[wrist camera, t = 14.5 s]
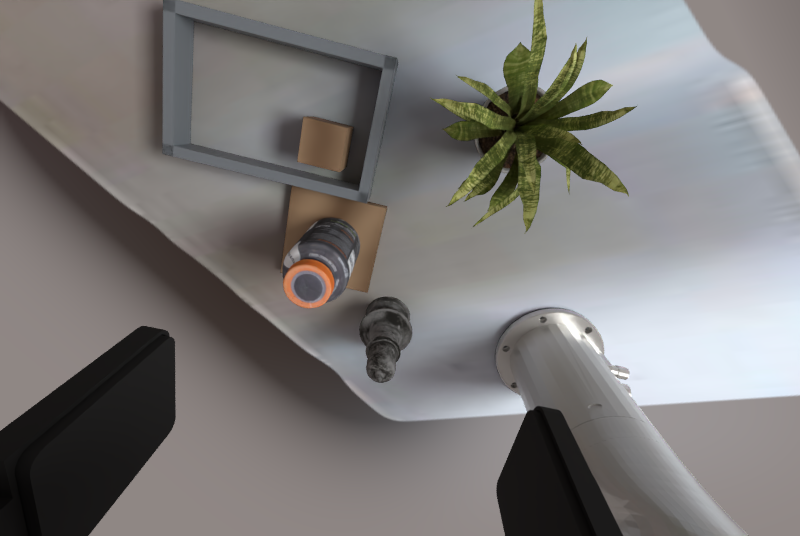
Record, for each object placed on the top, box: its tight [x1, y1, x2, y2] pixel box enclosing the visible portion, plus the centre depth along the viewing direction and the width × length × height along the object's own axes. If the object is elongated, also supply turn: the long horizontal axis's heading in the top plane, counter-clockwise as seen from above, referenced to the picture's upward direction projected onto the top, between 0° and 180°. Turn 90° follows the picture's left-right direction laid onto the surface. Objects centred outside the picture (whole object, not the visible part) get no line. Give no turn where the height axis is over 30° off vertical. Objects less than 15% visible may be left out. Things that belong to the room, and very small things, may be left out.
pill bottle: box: [282, 218, 360, 308], centre depth 36 cm, size 6×6×11 cm
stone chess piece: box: [359, 297, 412, 383], centre depth 40 cm, size 6×6×12 cm
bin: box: [163, 0, 398, 204], centre depth 36 cm, size 20×13×3 cm, turn 76°
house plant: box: [431, 0, 638, 233], centre depth 30 cm, size 14×14×16 cm
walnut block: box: [297, 117, 354, 172], centre depth 37 cm, size 4×4×4 cm
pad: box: [281, 185, 387, 292], centre depth 42 cm, size 10×10×1 cm
